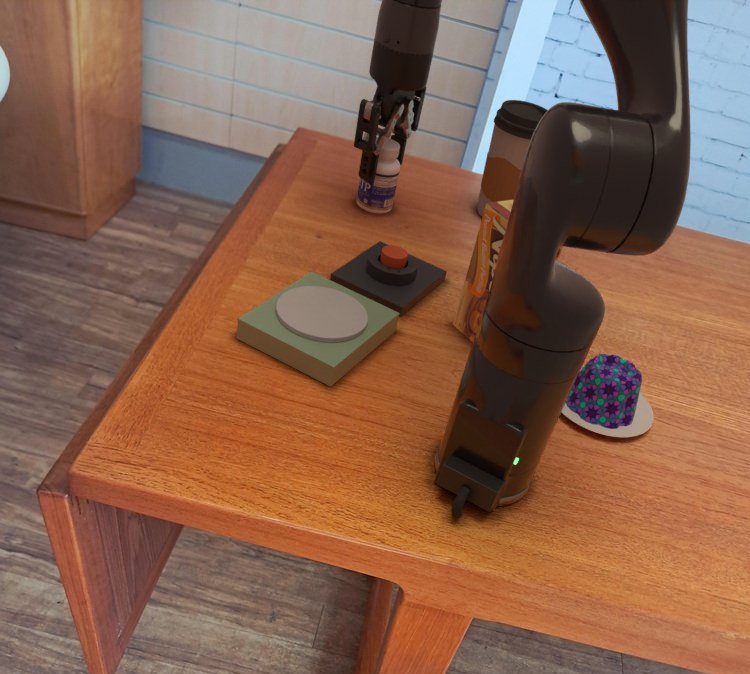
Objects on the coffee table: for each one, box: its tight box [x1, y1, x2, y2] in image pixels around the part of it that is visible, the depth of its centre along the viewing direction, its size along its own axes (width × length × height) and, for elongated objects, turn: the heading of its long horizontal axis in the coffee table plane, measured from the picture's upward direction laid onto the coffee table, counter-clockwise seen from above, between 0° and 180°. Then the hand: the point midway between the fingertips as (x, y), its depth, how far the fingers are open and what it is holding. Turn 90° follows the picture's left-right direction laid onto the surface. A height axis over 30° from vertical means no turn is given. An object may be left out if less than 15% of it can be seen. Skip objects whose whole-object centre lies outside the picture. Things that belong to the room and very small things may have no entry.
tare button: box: [380, 244, 409, 269], centre depth 95 cm, size 3×3×2 cm
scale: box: [236, 270, 400, 387], centre depth 85 cm, size 14×12×3 cm
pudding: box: [561, 353, 655, 438], centre depth 85 cm, size 12×12×5 cm
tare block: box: [329, 240, 448, 318], centre depth 96 cm, size 12×10×3 cm
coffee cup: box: [476, 99, 549, 218], centre depth 112 cm, size 8×8×15 cm
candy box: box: [452, 200, 564, 344], centre depth 86 cm, size 9×4×15 cm, turn 33°
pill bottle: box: [356, 136, 401, 214], centre depth 108 cm, size 5×5×9 cm
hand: (380, 171), depth 108 cm, fingers open, 7 cm apart
